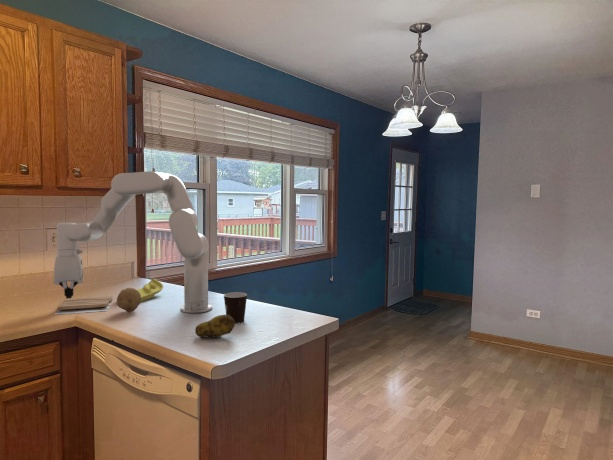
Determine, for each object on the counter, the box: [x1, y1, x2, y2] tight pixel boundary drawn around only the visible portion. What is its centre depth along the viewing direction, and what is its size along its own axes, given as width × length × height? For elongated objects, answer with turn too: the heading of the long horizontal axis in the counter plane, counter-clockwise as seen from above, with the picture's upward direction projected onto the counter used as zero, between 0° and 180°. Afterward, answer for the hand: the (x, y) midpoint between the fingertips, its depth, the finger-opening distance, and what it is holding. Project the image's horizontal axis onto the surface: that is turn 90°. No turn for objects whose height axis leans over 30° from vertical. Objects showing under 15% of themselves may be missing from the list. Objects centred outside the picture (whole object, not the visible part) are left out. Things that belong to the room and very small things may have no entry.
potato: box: [194, 314, 236, 339], centre depth 142 cm, size 8×13×8 cm, turn 62°
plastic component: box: [120, 278, 164, 303], centre depth 197 cm, size 20×7×10 cm
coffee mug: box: [223, 291, 248, 325], centre depth 160 cm, size 12×9×10 cm
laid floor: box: [53, 296, 113, 316], centre depth 181 cm, size 21×19×1 cm
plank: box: [57, 301, 109, 311], centre depth 178 cm, size 8×18×1 cm, turn 109°
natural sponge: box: [116, 287, 141, 313], centre depth 172 cm, size 9×9×10 cm
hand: (69, 297), depth 175 cm, fingers closed
